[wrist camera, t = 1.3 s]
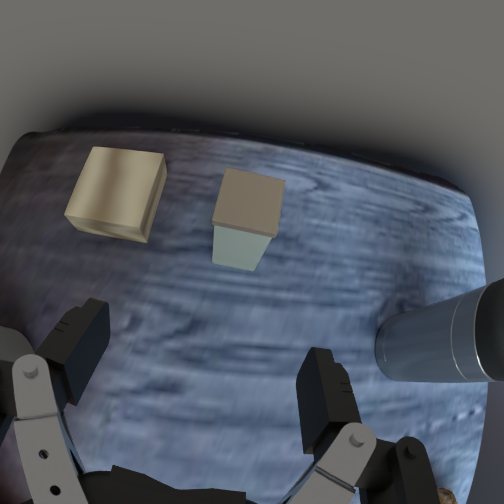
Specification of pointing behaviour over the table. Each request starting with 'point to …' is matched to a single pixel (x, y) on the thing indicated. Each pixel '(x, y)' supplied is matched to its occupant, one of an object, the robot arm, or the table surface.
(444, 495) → the lion figurine
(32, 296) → the table surface
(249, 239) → the sage canister
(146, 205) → the maple block
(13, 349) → the coffee mug
